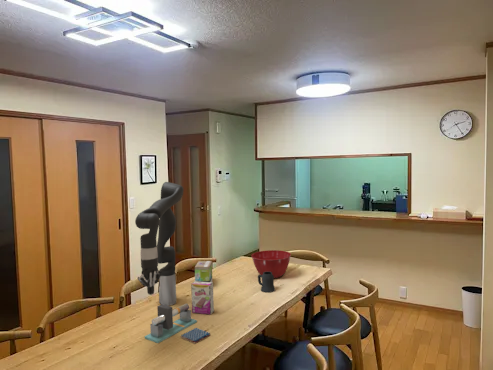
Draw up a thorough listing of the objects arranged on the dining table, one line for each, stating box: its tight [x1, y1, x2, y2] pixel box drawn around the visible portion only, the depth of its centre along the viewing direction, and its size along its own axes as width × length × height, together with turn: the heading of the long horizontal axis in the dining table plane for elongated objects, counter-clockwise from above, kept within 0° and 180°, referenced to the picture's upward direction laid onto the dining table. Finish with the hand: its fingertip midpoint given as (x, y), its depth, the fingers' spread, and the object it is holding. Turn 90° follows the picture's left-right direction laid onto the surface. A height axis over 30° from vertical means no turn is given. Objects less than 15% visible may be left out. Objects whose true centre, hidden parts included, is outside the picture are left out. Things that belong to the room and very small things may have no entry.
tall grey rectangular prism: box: [156, 304, 174, 330], centre depth 173 cm, size 3×7×10 cm, turn 55°
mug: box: [257, 271, 276, 294], centre depth 230 cm, size 12×9×11 cm
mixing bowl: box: [250, 249, 292, 279], centre depth 259 cm, size 28×28×15 cm
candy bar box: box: [190, 280, 215, 316], centre depth 197 cm, size 11×5×16 cm, turn 74°
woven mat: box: [180, 327, 211, 345], centre depth 169 cm, size 10×11×2 cm
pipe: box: [149, 303, 192, 338], centre depth 177 cm, size 22×5×9 cm, turn 145°
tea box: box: [194, 260, 213, 283], centre depth 243 cm, size 15×10×15 cm, turn 179°
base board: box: [144, 318, 198, 344], centre depth 177 cm, size 26×9×1 cm, turn 145°
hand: (150, 294), depth 166 cm, fingers closed
